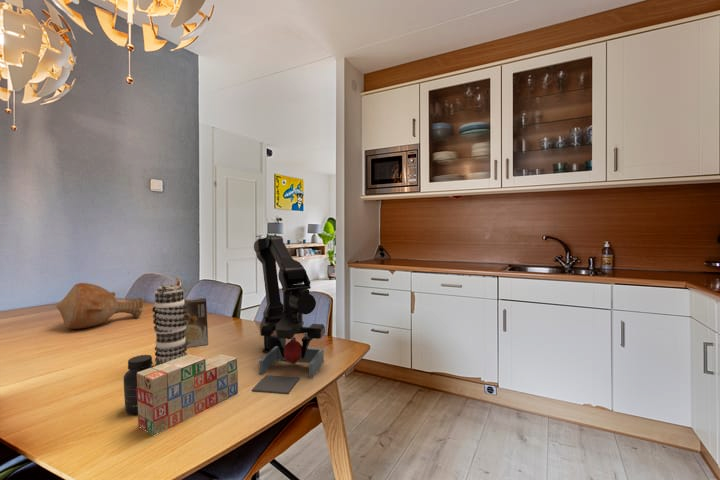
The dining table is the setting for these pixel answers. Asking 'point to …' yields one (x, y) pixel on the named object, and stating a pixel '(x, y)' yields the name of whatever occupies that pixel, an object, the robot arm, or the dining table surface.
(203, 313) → the coffee box
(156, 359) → the decorative candle
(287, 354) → the onion
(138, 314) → the jug
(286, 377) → the mat
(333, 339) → the dining table surface
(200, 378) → the stack of blocks
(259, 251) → the robot arm
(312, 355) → the u-shaped frame
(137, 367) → the supplement bottle
